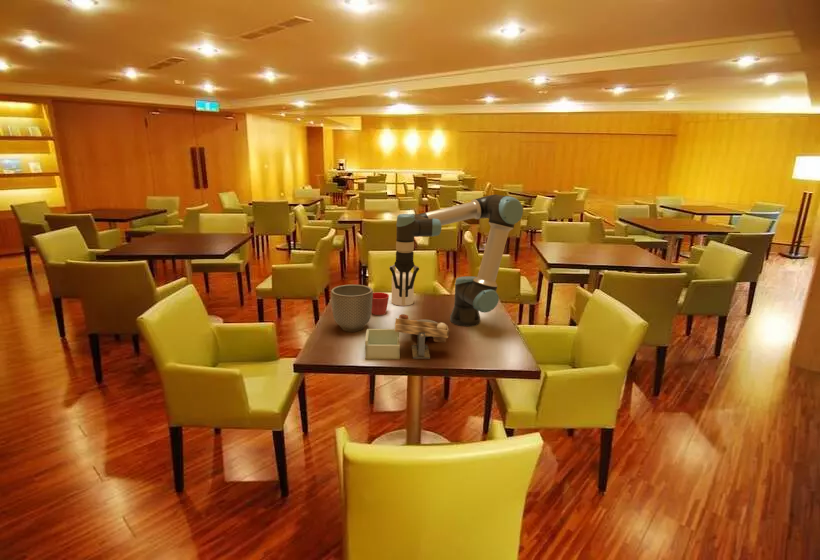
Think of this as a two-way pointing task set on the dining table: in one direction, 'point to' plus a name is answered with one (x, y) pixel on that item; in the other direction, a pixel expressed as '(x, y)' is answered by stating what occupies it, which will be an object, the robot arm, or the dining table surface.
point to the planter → (352, 306)
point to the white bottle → (395, 292)
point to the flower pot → (379, 303)
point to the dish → (427, 321)
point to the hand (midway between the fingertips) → (403, 303)
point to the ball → (441, 326)
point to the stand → (420, 348)
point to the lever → (420, 328)
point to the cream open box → (382, 344)
